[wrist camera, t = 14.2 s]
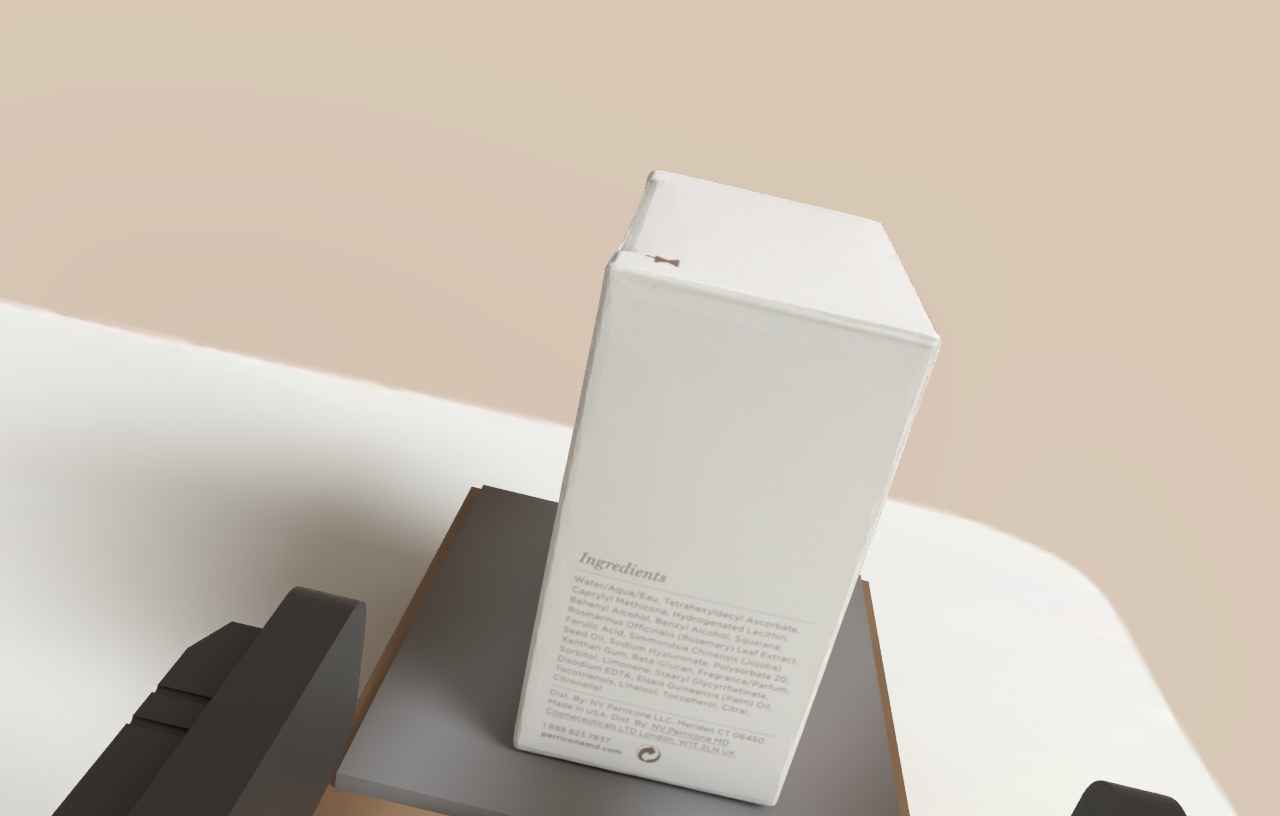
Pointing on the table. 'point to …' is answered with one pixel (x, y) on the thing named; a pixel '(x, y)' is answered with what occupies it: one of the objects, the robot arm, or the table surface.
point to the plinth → (492, 684)
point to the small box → (721, 485)
